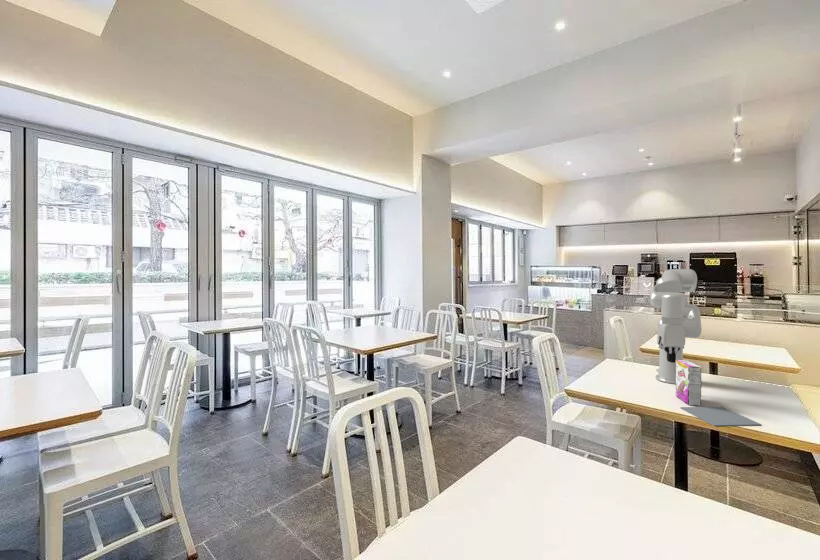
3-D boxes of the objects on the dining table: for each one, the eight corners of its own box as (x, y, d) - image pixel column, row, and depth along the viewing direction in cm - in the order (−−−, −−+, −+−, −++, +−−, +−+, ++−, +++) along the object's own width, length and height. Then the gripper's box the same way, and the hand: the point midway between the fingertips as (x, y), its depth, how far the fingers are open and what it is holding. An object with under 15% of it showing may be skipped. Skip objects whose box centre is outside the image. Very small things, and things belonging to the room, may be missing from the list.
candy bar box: (674, 396, 167) (675, 359, 166) (687, 396, 166) (688, 359, 165) (688, 405, 156) (688, 366, 155) (701, 406, 155) (702, 366, 154)
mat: (680, 408, 153) (680, 407, 153) (722, 407, 153) (722, 406, 153) (714, 426, 136) (714, 425, 136) (761, 425, 136) (761, 424, 136)
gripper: (682, 319, 173) (681, 359, 174) (649, 320, 173) (649, 360, 174) (694, 322, 166) (694, 363, 166) (660, 322, 166) (660, 364, 167)
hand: (671, 361), depth 170 cm, fingers closed
